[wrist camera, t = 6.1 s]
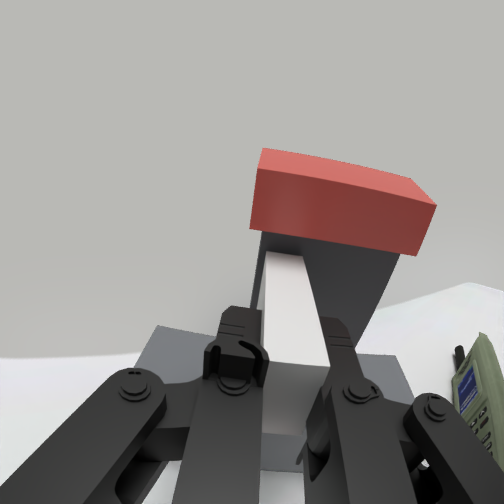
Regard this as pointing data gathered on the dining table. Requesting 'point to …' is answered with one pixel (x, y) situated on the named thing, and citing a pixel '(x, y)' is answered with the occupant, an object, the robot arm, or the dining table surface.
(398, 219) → the breaker lever
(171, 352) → the breaker box
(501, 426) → the handheld radio
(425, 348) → the dining table surface
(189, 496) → the robot arm
